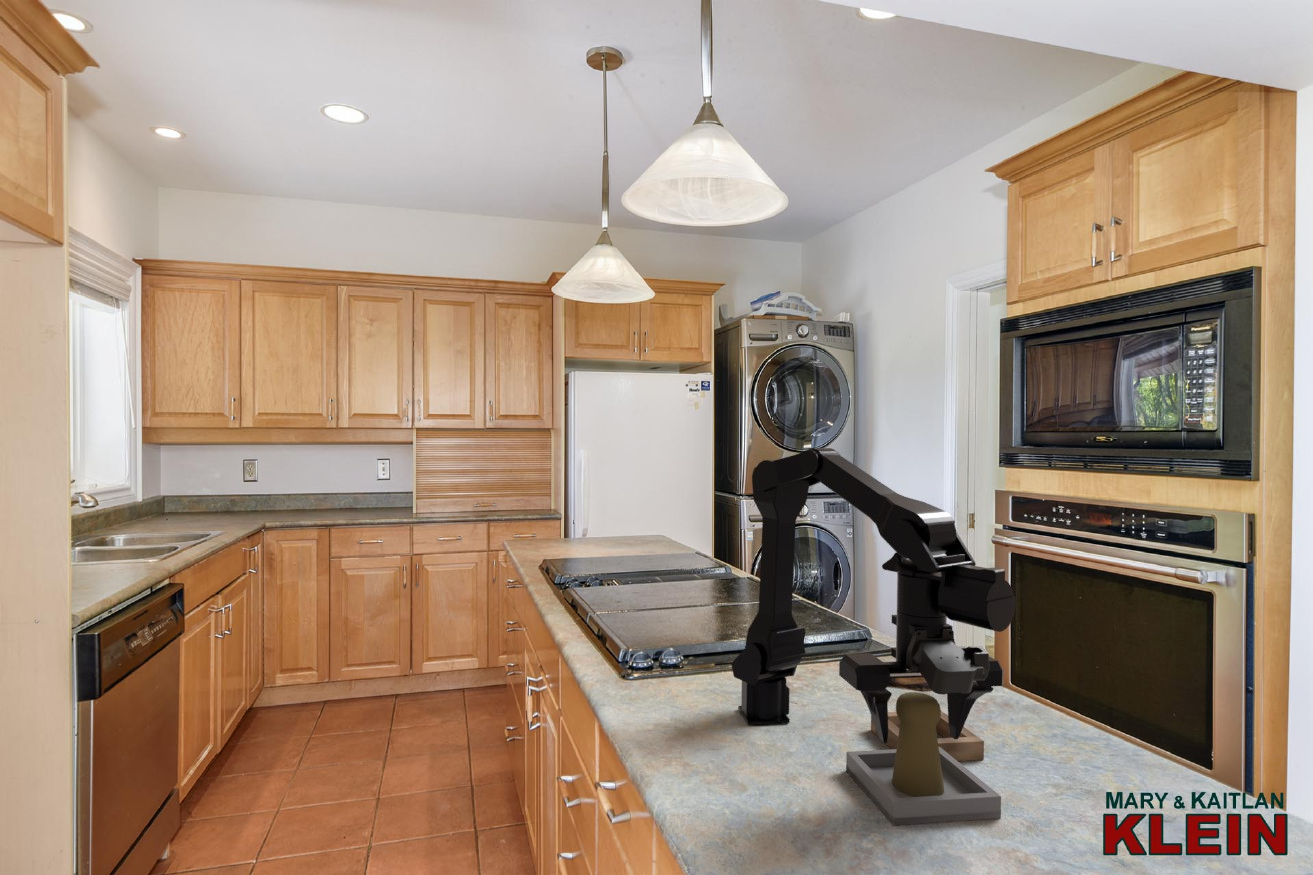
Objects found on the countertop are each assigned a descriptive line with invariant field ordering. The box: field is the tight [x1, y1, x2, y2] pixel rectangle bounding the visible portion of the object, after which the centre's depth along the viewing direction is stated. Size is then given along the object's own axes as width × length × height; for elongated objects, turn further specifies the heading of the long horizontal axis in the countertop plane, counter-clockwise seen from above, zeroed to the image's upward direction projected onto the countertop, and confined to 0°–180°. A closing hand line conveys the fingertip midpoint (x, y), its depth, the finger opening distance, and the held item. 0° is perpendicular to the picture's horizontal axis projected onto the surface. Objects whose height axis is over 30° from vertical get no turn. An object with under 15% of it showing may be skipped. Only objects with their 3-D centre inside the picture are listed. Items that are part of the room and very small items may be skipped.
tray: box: [845, 747, 1002, 826], centre depth 87 cm, size 13×13×2 cm
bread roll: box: [887, 669, 933, 692], centre depth 127 cm, size 11×8×4 cm
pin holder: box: [870, 710, 985, 762], centre depth 101 cm, size 11×11×2 cm
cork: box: [892, 691, 944, 797], centre depth 87 cm, size 6×6×11 cm
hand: (919, 739), depth 87 cm, fingers open, 9 cm apart
